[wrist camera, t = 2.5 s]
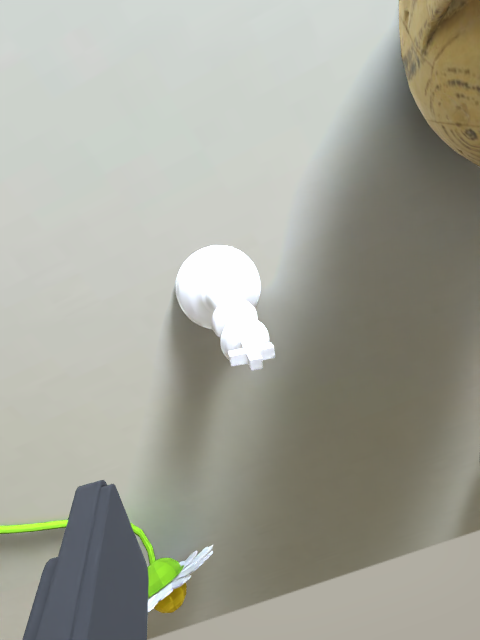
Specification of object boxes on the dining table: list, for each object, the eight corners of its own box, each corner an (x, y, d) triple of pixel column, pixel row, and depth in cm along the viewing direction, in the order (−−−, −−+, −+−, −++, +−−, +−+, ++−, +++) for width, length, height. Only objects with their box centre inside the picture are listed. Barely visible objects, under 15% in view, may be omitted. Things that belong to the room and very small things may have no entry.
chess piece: (263, 318, 25) (325, 406, 16) (184, 334, 24) (200, 435, 15) (253, 238, 23) (317, 286, 14) (167, 253, 23) (174, 314, 13)
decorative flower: (-71, 672, 20) (225, 628, 23) (-46, 530, 23) (219, 508, 26) (-14, 628, 27) (208, 599, 30) (1, 523, 30) (205, 506, 33)
